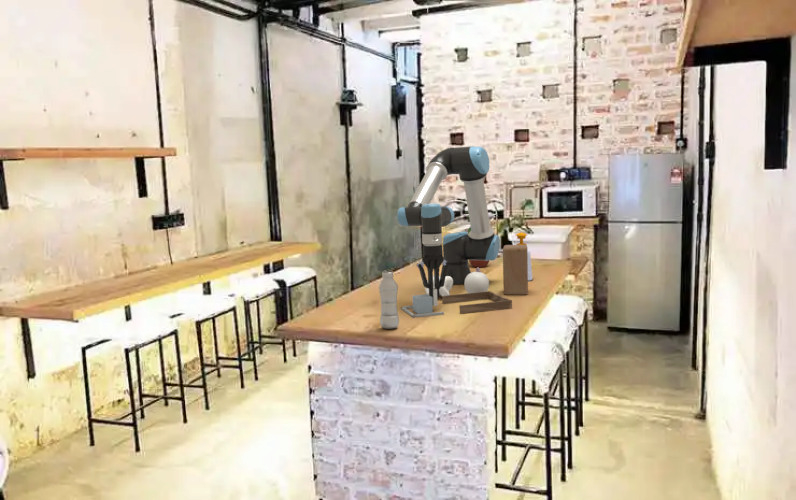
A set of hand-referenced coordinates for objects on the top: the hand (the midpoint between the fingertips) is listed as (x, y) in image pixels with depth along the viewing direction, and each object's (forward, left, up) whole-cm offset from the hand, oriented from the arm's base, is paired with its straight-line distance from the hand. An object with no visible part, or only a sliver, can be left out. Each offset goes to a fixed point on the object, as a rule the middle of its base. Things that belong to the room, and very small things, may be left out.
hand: (434, 305), depth 251 cm
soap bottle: (-43, +59, -2) cm, 73 cm away
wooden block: (-15, +42, -2) cm, 44 cm away
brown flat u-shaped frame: (0, +17, -2) cm, 17 cm away
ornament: (-17, +25, -2) cm, 30 cm away
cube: (0, -5, -2) cm, 5 cm away
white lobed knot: (-21, +10, -2) cm, 23 cm away
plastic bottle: (+19, -23, -2) cm, 30 cm away
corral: (0, -5, -2) cm, 6 cm away
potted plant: (-86, +53, -2) cm, 101 cm away
